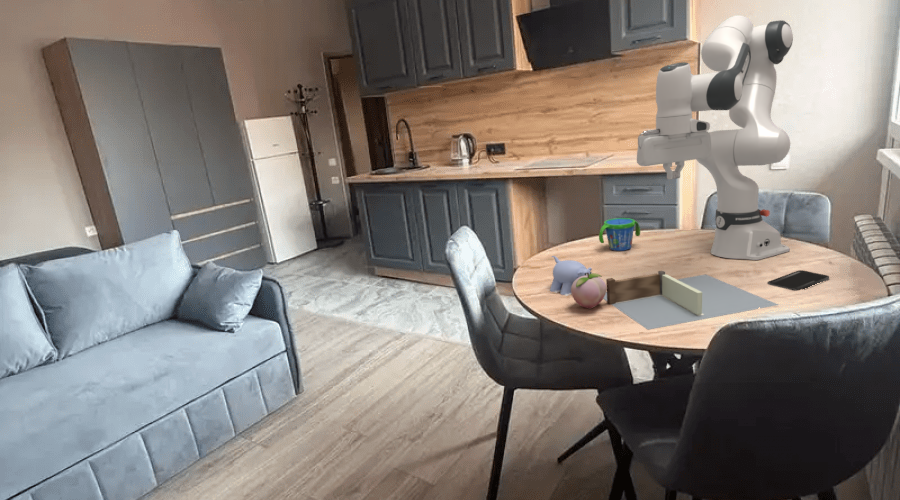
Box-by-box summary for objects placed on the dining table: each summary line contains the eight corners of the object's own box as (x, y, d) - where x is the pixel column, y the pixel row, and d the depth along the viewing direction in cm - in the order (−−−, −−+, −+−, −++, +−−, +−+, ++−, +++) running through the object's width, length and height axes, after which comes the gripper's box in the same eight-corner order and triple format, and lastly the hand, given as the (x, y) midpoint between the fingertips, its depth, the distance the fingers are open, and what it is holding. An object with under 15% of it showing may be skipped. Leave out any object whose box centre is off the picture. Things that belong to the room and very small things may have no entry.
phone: (765, 282, 132) (800, 269, 138) (765, 286, 132) (799, 273, 138) (796, 290, 125) (831, 276, 131) (796, 294, 125) (831, 280, 131)
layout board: (705, 275, 143) (705, 274, 143) (778, 306, 118) (778, 304, 118) (595, 294, 138) (595, 293, 138) (647, 331, 114) (647, 329, 113)
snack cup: (606, 255, 173) (605, 227, 170) (593, 248, 183) (592, 221, 180) (648, 248, 175) (647, 220, 172) (632, 242, 185) (632, 215, 182)
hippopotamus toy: (581, 302, 135) (580, 269, 132) (542, 290, 147) (540, 259, 144) (607, 291, 140) (606, 259, 138) (567, 280, 153) (565, 251, 150)
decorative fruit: (584, 299, 136) (582, 265, 133) (611, 305, 130) (610, 269, 127) (564, 311, 130) (562, 275, 127) (592, 318, 124) (591, 280, 121)
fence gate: (662, 294, 132) (662, 274, 130) (666, 293, 132) (666, 274, 130) (697, 314, 117) (697, 293, 116) (701, 314, 117) (702, 292, 116)
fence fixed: (662, 292, 134) (662, 269, 132) (666, 294, 132) (666, 270, 130) (606, 302, 131) (606, 278, 130) (610, 304, 130) (609, 280, 128)
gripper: (644, 131, 128) (645, 184, 132) (715, 122, 131) (714, 174, 135) (631, 131, 135) (632, 182, 138) (699, 123, 137) (699, 172, 141)
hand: (673, 178), depth 136 cm, fingers closed
